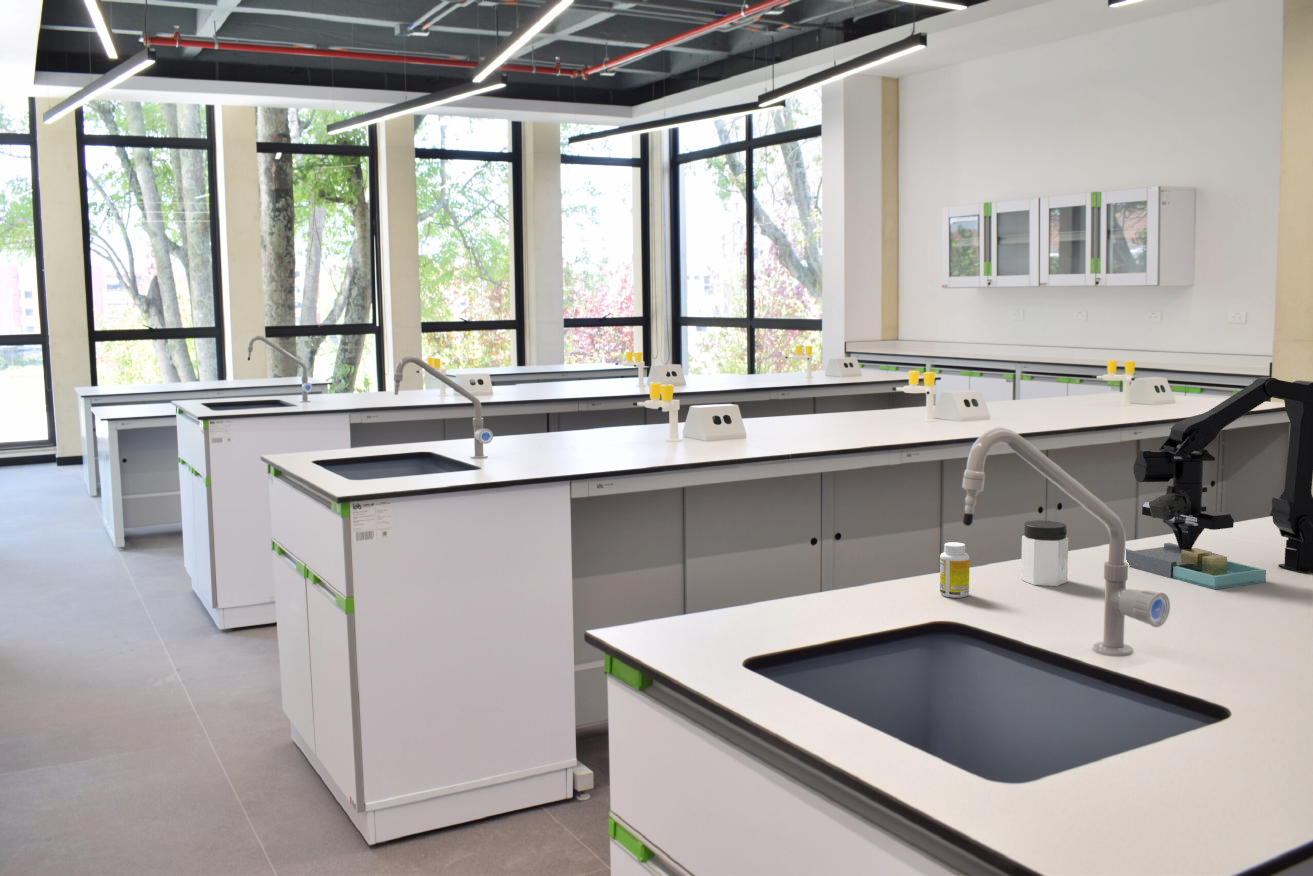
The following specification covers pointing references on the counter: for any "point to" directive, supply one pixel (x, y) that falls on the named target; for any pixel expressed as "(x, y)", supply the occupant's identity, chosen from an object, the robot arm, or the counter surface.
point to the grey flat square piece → (1159, 560)
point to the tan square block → (1194, 555)
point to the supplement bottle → (954, 571)
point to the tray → (1222, 576)
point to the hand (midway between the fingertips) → (1184, 554)
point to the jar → (1044, 553)
